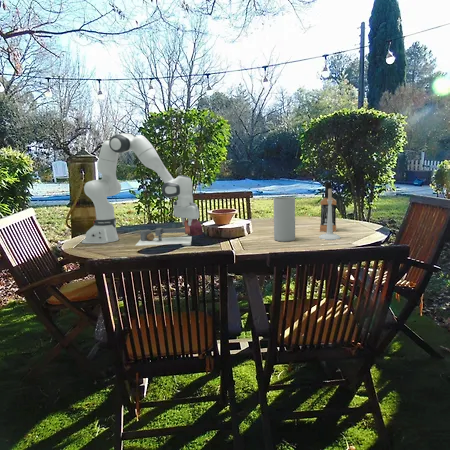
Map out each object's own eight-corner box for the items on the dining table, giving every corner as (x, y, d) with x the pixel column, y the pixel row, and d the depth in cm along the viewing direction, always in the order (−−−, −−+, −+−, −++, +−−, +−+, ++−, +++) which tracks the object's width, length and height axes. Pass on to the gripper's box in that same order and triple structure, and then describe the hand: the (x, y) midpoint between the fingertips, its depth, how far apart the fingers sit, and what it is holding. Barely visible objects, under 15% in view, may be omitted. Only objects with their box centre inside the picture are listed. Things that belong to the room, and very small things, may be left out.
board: (135, 247, 228) (134, 235, 227) (141, 240, 249) (140, 229, 247) (190, 245, 229) (190, 232, 228) (191, 238, 250) (191, 227, 249)
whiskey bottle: (336, 229, 264) (336, 181, 259) (336, 231, 255) (336, 182, 250) (320, 229, 267) (320, 181, 262) (319, 231, 257) (320, 182, 252)
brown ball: (146, 241, 238) (146, 234, 238) (147, 240, 243) (147, 232, 242) (153, 241, 239) (153, 233, 238) (154, 239, 243) (154, 232, 242)
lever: (154, 235, 235) (153, 222, 234) (157, 233, 242) (156, 220, 241) (188, 235, 234) (188, 221, 233) (190, 232, 241) (189, 219, 240)
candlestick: (334, 235, 243) (334, 186, 239) (344, 239, 231) (345, 188, 226) (315, 237, 241) (315, 187, 236) (324, 240, 228) (324, 189, 224)
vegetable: (200, 240, 260) (200, 219, 253) (185, 238, 262) (185, 217, 255) (204, 233, 269) (205, 213, 263) (190, 231, 271) (190, 211, 265)
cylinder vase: (275, 242, 229) (274, 199, 226) (273, 238, 242) (272, 197, 238) (296, 241, 229) (296, 198, 225) (293, 237, 242) (293, 196, 238)
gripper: (201, 202, 231) (202, 226, 233) (179, 201, 245) (180, 223, 248) (192, 203, 227) (194, 227, 229) (171, 202, 241) (172, 224, 243)
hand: (186, 225), depth 238 cm, fingers open, 3 cm apart
